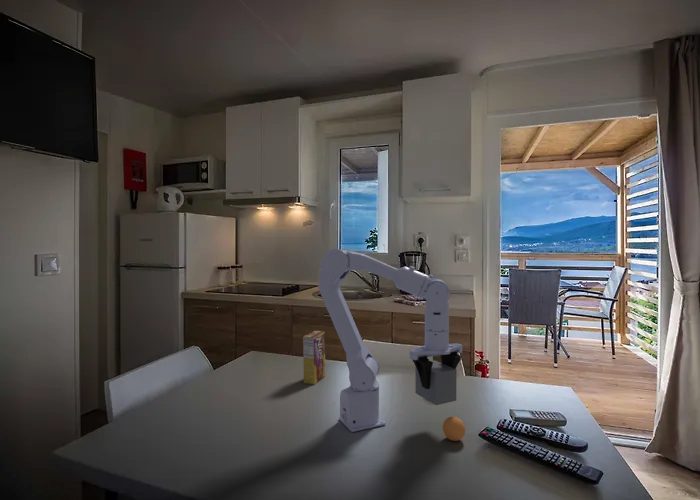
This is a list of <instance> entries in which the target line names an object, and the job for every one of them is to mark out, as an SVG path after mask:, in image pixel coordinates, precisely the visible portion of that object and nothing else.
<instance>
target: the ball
mask: <svg viewBox="0 0 700 500" xmlns="http://www.w3.org/2000/svg"><path fill="white" fill-rule="evenodd" d="M442 431H443V434H444V436H445V437H446V438H447V439H448V440H450V441H453V442H457V441H460V440H462V439H463V438H464V436H465V434H466V427H465V424H464V422H463V421H462V419H460V418H458V417H457V416H450V417H447V418H446V419H445V420H444V421H443V424H442Z"/></svg>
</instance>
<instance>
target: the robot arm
mask: <svg viewBox="0 0 700 500" xmlns="http://www.w3.org/2000/svg"><path fill="white" fill-rule="evenodd" d="M319 267H320V274H319V282H318V291H319V294H320V295H321V298H322V301H323V302H324V303H323V304H324V305H325V308H326V310H327V312H328V314H329V317H330V319H331V321H332V323H333V326H334V328H335V331H336V333H337V335H338V338H339V340H340V343H341V345H342V347H343V349H344V352H345V355H346V356H345V358H346V366H347V368H348V371H349V374H348V379H349V383H350V385H349V386H348V387H347V388H344V389H342V390H341V391H340V393H339V394H340V395H339V417H338V420H339V421H340V422H341V423H342V424H343V425H344V426H345V427H346V428H347V429H348V431H350V432H352V433H354V432H358V431H362V430H363V431H364V430H368V429H372V428H376V427H380V426H385V425H386V424H387V423H386V421H385V420H384V419H382V418H381V417H380V384H379V382H378V380H377V376H378V374H379V371H380V364H379V361H378V359H377V358H376V357H375V356H373V355H372V353H371V352H370V349H369V348H368V346H366V345H365V343H364V341H363V339H362V336H361V334H360V331H359V329H358V326H357V325H356V322H355V320H354V318H353V315H352V313H351V311H350V308H349V305H348V303H347V302H346V298H345V297H344V295H343V292H342V290H341V286H342V285H343V282H344V280H345V277H346V276H347V275H348V274H349V272H353V271H354V272H355V271H365V272H368V273H372V274H373V275H374V274H375V275H377V276H379V277H382V278H385V279H388V280H390V281H393V283H394V285H395V288H397V289H399V290H401V291H403V292H406V293H409V294H410V295H412V296H416V297H418V298H425V310H424V345H423V346H420V347H417V348H414V349H409V359H411V360H412V363H414V366H415V369H416V368H417V370H418V373H419V376H420V380H421V384H422V387H424V388H425V389H429V387H430V374H431V368H432V365H433V362H431V361H432V360H429V358H433V356H438V355H440V356H441V360H442V364H445V365H447V366H449V367H452V368H454V369H456V370H457V367H458V365H459V363H460V362H461V360H462V355H460V354H463V344H460V343H450V311H449V306H450V305H449V300H450V298H451V292H450V289H449V287H448V285H447V283H446V282H445V281H444V280H443V279H440V278H438V277H434V275H432V274H431V273H430V274H429V275H427V274H425V273H423V272H421V271H418V270H416V269H415V268H416V267H414V266H412V265H409V267H407V266H403V267H399V268H396V267H393V266H391V265H390V264H388V263H385V262H382V261H381V260H378V259H376V258H373V257H371V256H369V255H367V254H365V253H361V252H357V251H350V250H349V249H347V248H340V249H339V248H333V249H330V250H328V251H326V253H325V254H324V256H323V258H322V259H321V261H320V263H319Z"/></svg>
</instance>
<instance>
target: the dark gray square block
mask: <svg viewBox="0 0 700 500" xmlns="http://www.w3.org/2000/svg"><path fill="white" fill-rule="evenodd" d="M430 361H431V362H433V365H432V368H431V374H430V387H429V389H425V388H424V387H422V384H421V380H420V376H419V373H418V370H417V368H416V367H415V394H416V395H418V396H419V397H421V398H423V399H425V400H426V401H428V402H429V403H431V404H433V405H435V406H438V405H444V404H449V403H452V402H456V401H457V368H456V369H454V368H452V367H449V366H447V365H445V364H442V363H440V362H437V361H435V360H434V361H433V360H430Z"/></svg>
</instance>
